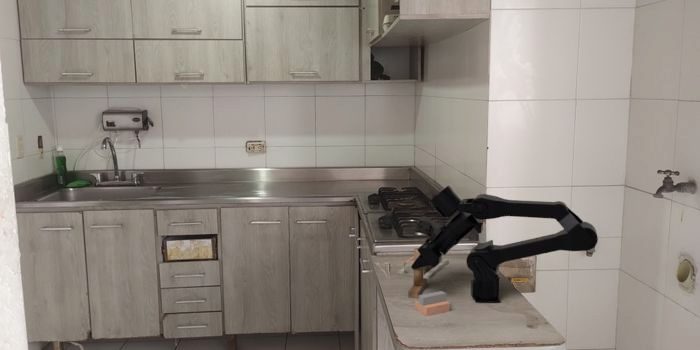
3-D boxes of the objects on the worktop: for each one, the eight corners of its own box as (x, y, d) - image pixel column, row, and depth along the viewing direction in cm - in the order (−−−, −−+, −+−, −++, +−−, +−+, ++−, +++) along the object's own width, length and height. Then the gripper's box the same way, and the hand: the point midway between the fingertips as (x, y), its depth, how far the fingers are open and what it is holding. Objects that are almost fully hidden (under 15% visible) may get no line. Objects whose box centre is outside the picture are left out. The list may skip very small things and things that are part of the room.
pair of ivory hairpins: (374, 265, 180) (374, 259, 179) (389, 265, 180) (389, 259, 180) (383, 288, 163) (383, 281, 162) (399, 287, 163) (399, 281, 163)
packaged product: (429, 264, 164) (397, 260, 169) (428, 281, 165) (397, 275, 170) (449, 249, 180) (419, 245, 185) (448, 264, 181) (419, 260, 185)
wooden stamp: (427, 284, 161) (428, 244, 159) (417, 298, 150) (418, 255, 148) (418, 283, 162) (419, 243, 160) (408, 297, 151) (408, 254, 149)
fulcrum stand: (437, 304, 146) (438, 289, 145) (449, 310, 141) (450, 295, 141) (414, 308, 142) (415, 293, 142) (426, 315, 138) (426, 300, 137)
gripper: (441, 201, 160) (402, 236, 165) (426, 214, 142) (383, 253, 148) (468, 231, 158) (428, 265, 163) (457, 248, 141) (412, 285, 146)
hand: (413, 266), depth 155 cm, fingers closed on wooden stamp, 3 cm apart
